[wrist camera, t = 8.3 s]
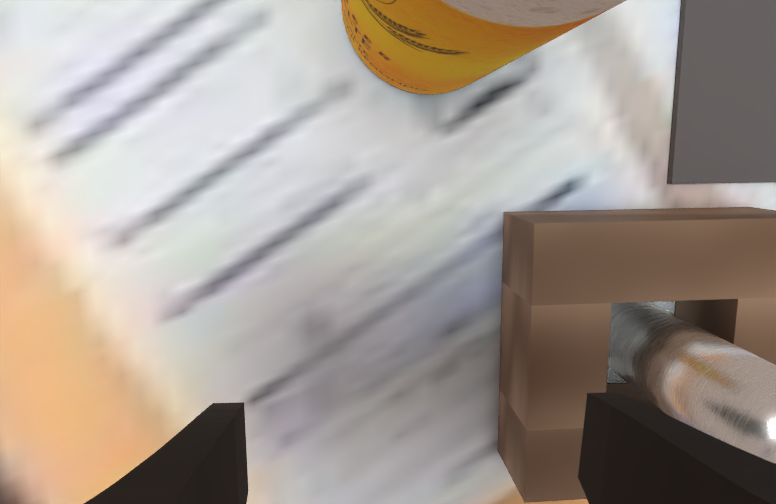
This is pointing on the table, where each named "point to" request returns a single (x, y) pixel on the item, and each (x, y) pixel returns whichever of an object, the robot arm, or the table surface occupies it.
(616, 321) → the steel peg
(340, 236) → the table surface
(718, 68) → the rubber mat
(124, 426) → the table surface
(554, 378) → the walnut block
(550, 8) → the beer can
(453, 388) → the table surface
